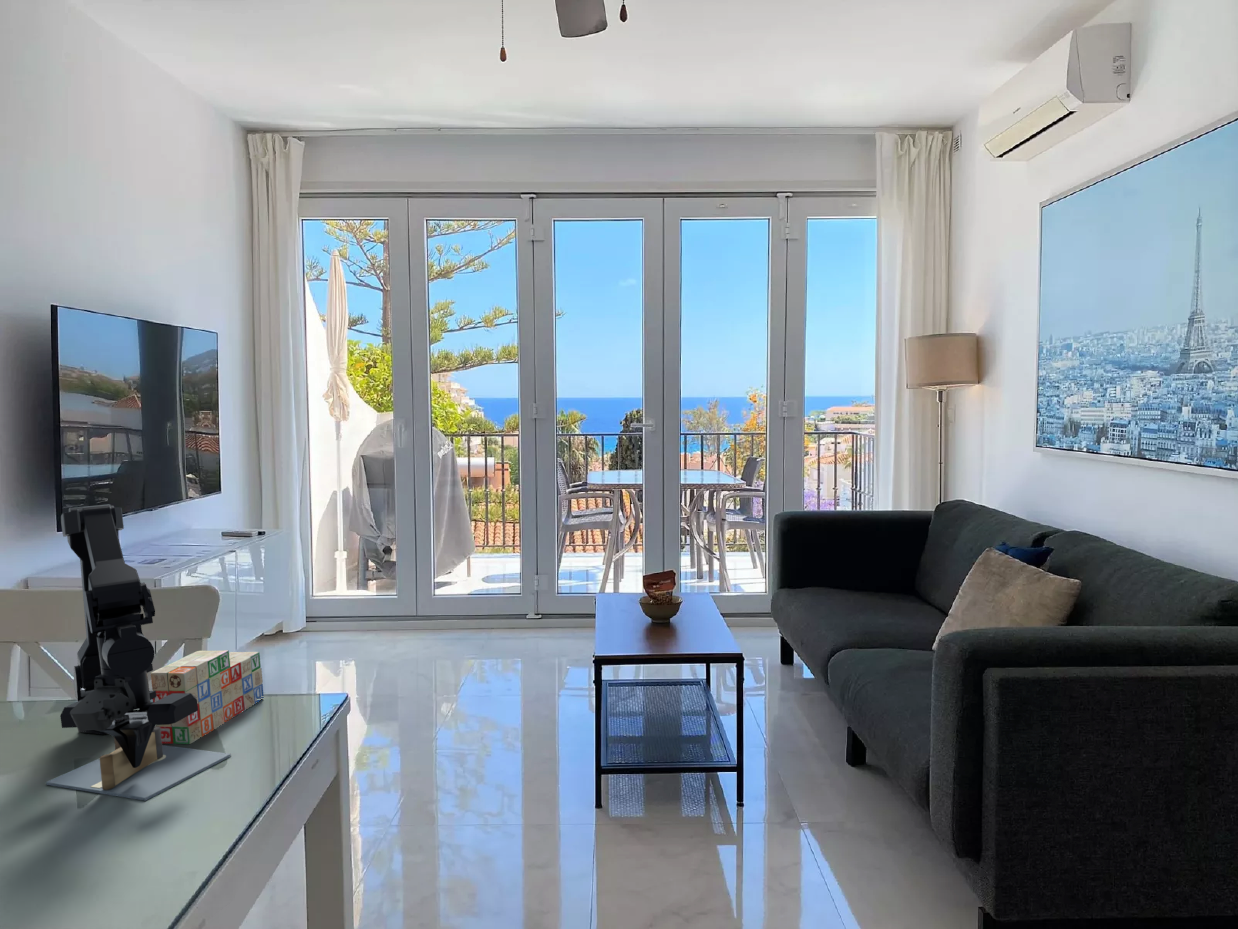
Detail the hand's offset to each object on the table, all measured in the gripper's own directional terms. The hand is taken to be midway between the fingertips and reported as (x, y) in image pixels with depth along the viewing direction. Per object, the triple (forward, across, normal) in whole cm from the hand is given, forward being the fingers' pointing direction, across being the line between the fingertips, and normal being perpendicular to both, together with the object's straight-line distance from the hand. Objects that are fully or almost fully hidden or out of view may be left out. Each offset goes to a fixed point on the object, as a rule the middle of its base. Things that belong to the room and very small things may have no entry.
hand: (136, 766), depth 127 cm
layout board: (+2, -3, +4) cm, 5 cm away
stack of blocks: (+2, -5, +25) cm, 25 cm away
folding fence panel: (+2, -2, +2) cm, 4 cm away
